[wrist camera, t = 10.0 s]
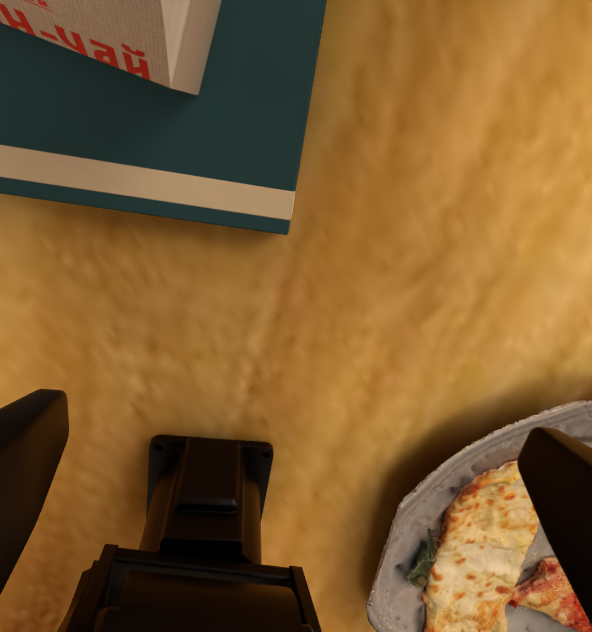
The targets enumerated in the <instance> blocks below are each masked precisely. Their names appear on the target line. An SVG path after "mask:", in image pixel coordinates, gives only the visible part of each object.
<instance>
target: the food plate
mask: <svg viewBox="0 0 592 632" xmlns="http://www.w3.org/2000/svg"><path fill="white" fill-rule="evenodd" d="M535 427H549V428H555V429H558V430H560V431H561V432H563V433H565V434H567V435H569V436H571V437H573V438H574V439H576V440H578V441H580V442H582V443H584V444H585V445H587V446H589V447H591V448H592V401H591V400H588V401H586V400H584V401H583V400H580V401H578V400H577V401H576V402H575V401H572V402H569V403H565V404H562V405H560V406H556V407H555V408H553V407H552V408H549V409H548V410H544V411H543V412H542V411H541V412H539V415H535V414H534V416H533V415H532V416H528V417H527V419H525V420H523V419H522V420H519V422H518V423H517V422H516V421H515V423H514V424H509V425H507V426H506V427H503V428H502V429H498V430H496V431H493V432H491V433H489V434H488V436H487V437H486V436H484V437H483V438H482V439H480V440H478V441H474V442H472V444H471V446H466V447H465V448H464V449H462V451H459V452H458V453H456V455H454V456H452V457H450V459H448V460H447V461H445V462H444V463H443V464H441V465H440V466H439V467H438V468H437V469H436V470H435V471H433V472H431V473H430V474H429V475H430V476H429V475H428V476H427V477H426V478H425V479H424V480H423V481H421V482H420V483H419V484H418V486H417V487H416V488H415V489H413V491H412V492H411V493H409V494H408V495H407V496H406V497H404V498H403V499H402V500H401V501H402V503H401V502H400V504H399V507H398V508H399V509H398V508H397V512H398V513H397V512H396V514H397V515H395V518H394V519H393V524H392V525H391V530H390V534H389V537H388V539H387V542H386V545H384V548H383V552H382V556H381V559H380V562H379V565H378V570H377V574H376V575H375V579H374V581H373V585H372V590H371V593H370V597H369V599H368V600H367V601H368V602H367V603H370V604H366V608H367V609H366V610H367V612H368V614H367V615H368V616H367V617H368V620H369V622H370V623H371V625H372V626H373V627H374V629H375V630H376V631H377V632H592V626H591V624H590V622H589V620H588V618H587V616H586V614H585V612H584V610H583V608H582V607H581V605H580V603H579V601H578V599H577V597H576V595H575V593H574V591H573V589H572V587H571V585H570V583H569V581H568V579H567V578H566V576H565V574H564V572H563V570H562V568H561V566H560V564H559V562H558V560H557V558H556V556H555V554H554V552H553V550H552V548H551V546H550V544H549V542H548V540H547V538H546V536H545V533H544V531H543V529H542V526H541V524H540V521H539V519H538V517H537V514H536V512H535V509H534V507H533V504H532V502H531V499H530V497H529V495H528V492H527V490H526V487H525V485H524V482H523V480H522V478H521V475H520V473H519V470H518V466H517V460H518V456H519V454H520V451H521V449H522V447H523V445H524V443H525V441H526V439H527V436H528V434H529V432H530V431H531V430H532V429H533V428H535Z"/></svg>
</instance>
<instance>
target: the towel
mask: <svg viewBox="0 0 592 632" xmlns="http://www.w3.org/2000/svg"><path fill="white" fill-rule="evenodd" d="M326 2H327V0H222V1H221V5H220V9H219V13H218V17H217V21H216V25H215V29H214V33H213V37H212V41H211V45H210V50H209V54H208V58H207V62H206V66H205V70H204V74H203V78H202V82H201V86H200V90H199V94H198V95H194V94H191V93H187V92H183V91H179V90H175V89H172V88H169V87H166V86H164V85H161V84H158V83H156V82H153V81H151V80H148V79H145V78H143V77H140V76H138V75H135V74H132V73H130V72H127V71H125V70H122V69H120V68H117V67H114V66H112V65H109V64H107V63H104V62H101V61H99V60H96V59H94V58H91V57H88V56H86V55H83V54H81V53H78V52H76V51H73V50H70V49H68V48H65V47H63V46H60V45H57V44H55V43H52V42H50V41H47V40H44V39H42V38H39V37H37V36H34V35H32V34H29V33H26V32H24V31H21V30H19V29H16V28H13V27H11V26H8V25H6V24H3V23H1V22H0V193H1V194H8V195H15V196H22V197H29V198H35V199H42V200H49V201H56V202H63V203H70V204H77V205H84V206H91V207H98V208H104V209H111V210H118V211H125V212H132V213H139V214H146V215H153V216H160V217H167V218H173V219H180V220H187V221H194V222H201V223H208V224H215V225H222V226H229V227H236V228H243V229H249V230H256V231H263V232H270V233H277V234H284V235H287V234H288V232H289V226H290V220H291V218H292V212H293V206H294V200H295V190H296V184H297V178H298V172H299V166H300V160H301V153H302V147H303V141H304V135H305V129H306V123H307V117H308V111H309V105H310V99H311V93H312V87H313V81H314V75H315V69H316V63H317V57H318V50H319V44H320V38H321V32H322V26H323V20H324V14H325V8H326Z"/></svg>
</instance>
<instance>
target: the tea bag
mask: <svg viewBox="0 0 592 632" xmlns="http://www.w3.org/2000/svg"><path fill="white" fill-rule="evenodd" d="M221 1H222V0H0V22H1V23H3V24H6V25H8V26H11V27H13V28H16V29H19V30H21V31H24V32H26V33H29V34H32V35H34V36H37V37H39V38H42V39H44V40H47V41H50V42H52V43H55V44H57V45H60V46H63V47H65V48H68V49H70V50H73V51H76V52H78V53H81V54H83V55H86V56H88V57H91V58H94V59H96V60H99V61H101V62H104V63H107V64H109V65H112V66H114V67H117V68H120V69H122V70H125V71H127V72H130V73H132V74H135V75H138V76H140V77H143V78H145V79H148V80H151V81H153V82H156V83H158V84H161V85H164V86H166V87H169V88H172V89H175V90H179V91H183V92H187V93H191V94H194V95H198V94H199V90H200V86H201V82H202V78H203V74H204V70H205V66H206V62H207V58H208V54H209V50H210V45H211V41H212V37H213V33H214V29H215V25H216V21H217V17H218V13H219V9H220V5H221Z"/></svg>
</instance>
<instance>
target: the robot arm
mask: <svg viewBox="0 0 592 632" xmlns="http://www.w3.org/2000/svg"><path fill="white" fill-rule="evenodd" d="M68 434H69V419H68V403H67V396H66V393H65V392H64V391H62V390H51V389H39V390H36V391H34V392H32V393H30V394H28V395H26V396H24V397H22V398H20V399H18V400H16V401H14V402H12V403H11V404H9V405H7V406H5V407H3V408H1V409H0V594H1V592H2V590H3V588H4V587H5V585H6V583H7V581H8V579H9V577H10V575H11V573H12V571H13V569H14V567H15V565H16V563H17V561H18V559H19V557H20V555H21V553H22V551H23V549H24V547H25V545H26V543H27V541H28V539H29V537H30V535H31V533H32V531H33V529H34V527H35V525H36V522H37V520H38V517H39V515H40V512H41V510H42V507H43V504H44V502H45V499H46V496H47V494H48V491H49V488H50V486H51V483H52V480H53V478H54V475H55V472H56V470H57V467H58V464H59V462H60V459H61V456H62V454H63V451H64V448H65V446H66V443H67V439H68ZM157 444H162V445H164V446H158V445H157ZM262 451H267V452H266V453H261V452H262ZM272 460H273V447H272V445H271V444H269V443H266V442H254V441H240V440H226V439H212V438H198V437H185V436H171V435H157V436H154V437H153V438H152V440H151V444H150V448H149V471H148V493H147V516H146V523H145V527H144V531H143V535H142V539H141V543H140V547H139V550H134V549H126V548H118V545H113V544H105V546H104V548H103V551H102V553H101V556H100V558H99V561H97V560H94V562H93V565H92V567H91V568H90V569H88V570H86V571H84V572H82V575H81V578H80V580H79V583H78V586H77V589H76V591H75V594H74V597H73V599H72V602H71V605H70V607H69V609H68V612H67V614H66V616H65V618H64V620H63V622H62V623H61V625H60V627H59V629H58V631H57V632H322V631H321V628H320V625H319V621H318V618H317V615H316V612H315V608H314V605H313V602H312V599H311V595H310V592H309V589H308V586H307V582H306V579H305V576H304V573H303V569H302V567H298V566H289V568H287V567H278V566H270V565H261V518H262V513H263V507H264V502H265V497H266V492H267V486H268V481H269V476H270V471H271V466H272ZM517 466H518V470H519V473H520V475H521V478H522V480H523V482H524V485H525V487H526V490H527V492H528V495H529V497H530V499H531V502H532V504H533V507H534V509H535V512H536V514H537V517H538V519H539V521H540V524H541V526H542V529H543V531H544V533H545V536H546V538H547V540H548V542H549V544H550V546H551V548H552V550H553V552H554V554H555V556H556V558H557V560H558V562H559V564H560V566H561V568H562V570H563V572H564V574H565V576H566V578H567V579H568V581H569V583H570V585H571V587H572V589H573V591H574V593H575V595H576V597H577V599H578V601H579V603H580V605H581V607H582V608H583V610H584V612H585V614H586V616H587V618H588V620H589V622H590V624H591V626H592V448H591V447H589V446H587V445H585V444H584V443H582V442H580V441H578V440H576V439H574V438H573V437H571V436H569V435H567V434H565V433H563V432H561V431H560V430H558V429H555V428H549V427H535V428H533V429H532V430H531V431H530V432H529V434H528V436H527V439H526V441H525V443H524V445H523V447H522V449H521V451H520V454H519V456H518V460H517Z"/></svg>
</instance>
